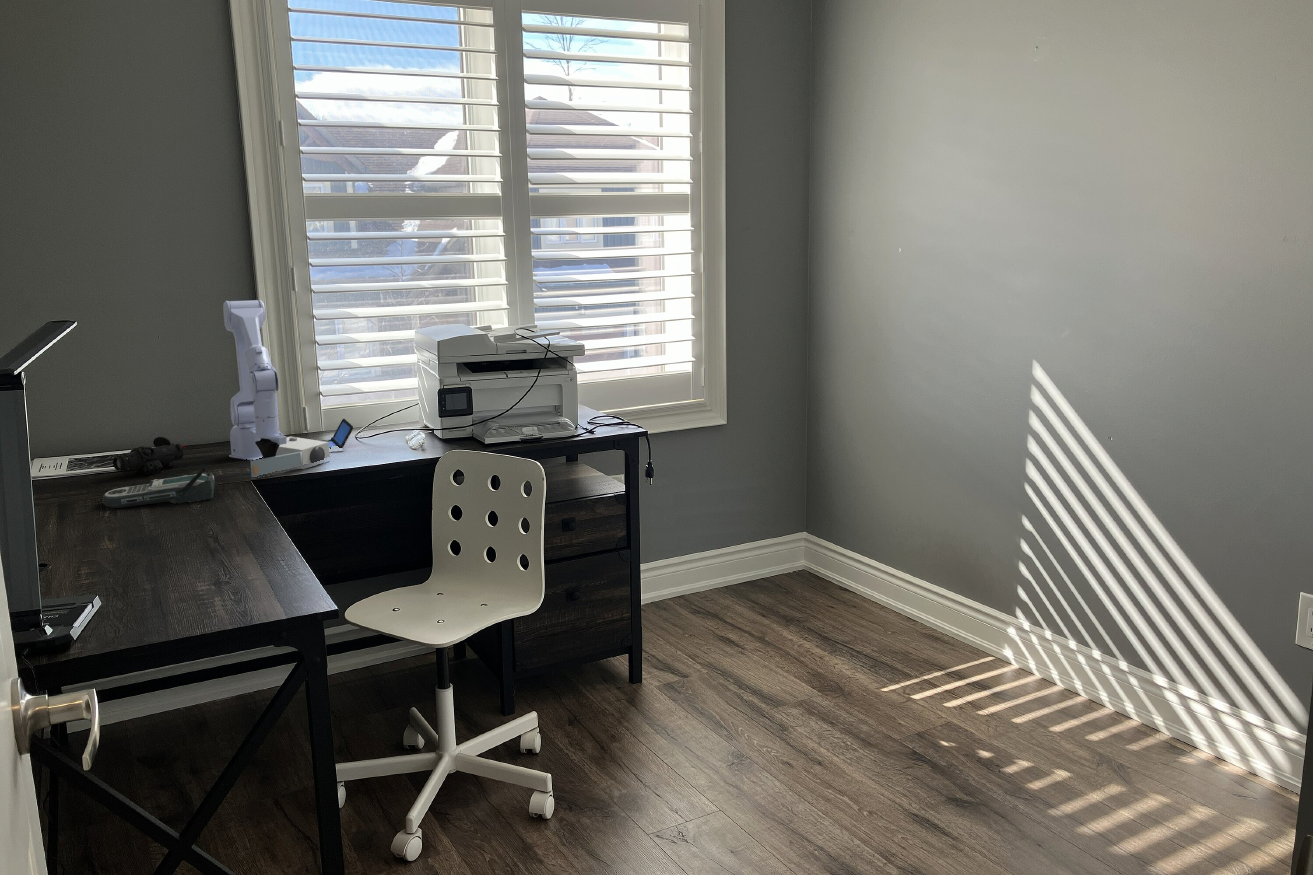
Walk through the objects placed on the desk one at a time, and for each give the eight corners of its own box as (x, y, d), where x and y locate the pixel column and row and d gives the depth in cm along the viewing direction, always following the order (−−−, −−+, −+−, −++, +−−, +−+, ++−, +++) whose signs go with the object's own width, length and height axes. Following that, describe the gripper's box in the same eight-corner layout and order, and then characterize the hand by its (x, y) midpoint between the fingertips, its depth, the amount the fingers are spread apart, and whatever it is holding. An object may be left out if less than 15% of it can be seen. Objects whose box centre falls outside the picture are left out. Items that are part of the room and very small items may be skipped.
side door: (301, 467, 263) (300, 451, 262) (304, 468, 263) (303, 452, 261) (251, 477, 253) (250, 460, 252) (254, 478, 252) (252, 462, 251)
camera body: (264, 463, 269) (262, 441, 268) (291, 455, 278) (290, 434, 277) (305, 470, 263) (304, 448, 262) (332, 461, 272) (330, 440, 271)
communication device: (108, 499, 237) (103, 464, 235) (216, 489, 246) (212, 455, 244) (100, 513, 226) (95, 476, 224) (213, 502, 235) (209, 467, 233)
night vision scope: (120, 488, 252) (100, 460, 255) (184, 474, 267) (165, 447, 270) (129, 468, 248) (109, 440, 251) (193, 455, 263) (174, 428, 266)
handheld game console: (308, 445, 291) (306, 421, 289) (345, 441, 296) (344, 417, 294) (316, 455, 280) (315, 429, 278) (355, 451, 285) (353, 426, 283)
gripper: (237, 414, 256) (241, 464, 259) (266, 422, 247) (270, 474, 250) (262, 410, 261) (266, 459, 264) (292, 418, 252) (296, 469, 255)
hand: (270, 466), depth 257 cm, fingers closed
